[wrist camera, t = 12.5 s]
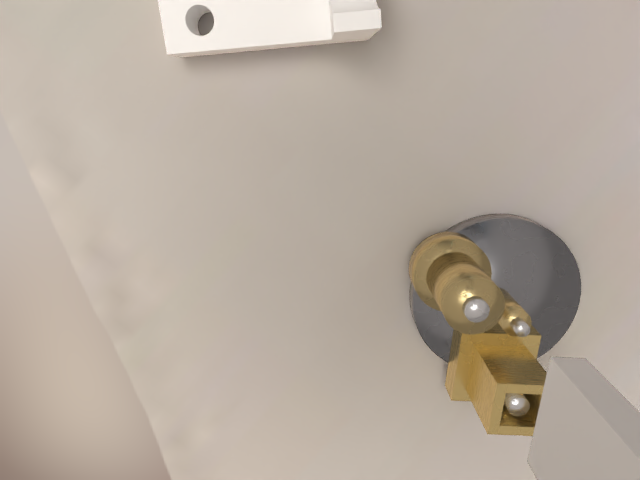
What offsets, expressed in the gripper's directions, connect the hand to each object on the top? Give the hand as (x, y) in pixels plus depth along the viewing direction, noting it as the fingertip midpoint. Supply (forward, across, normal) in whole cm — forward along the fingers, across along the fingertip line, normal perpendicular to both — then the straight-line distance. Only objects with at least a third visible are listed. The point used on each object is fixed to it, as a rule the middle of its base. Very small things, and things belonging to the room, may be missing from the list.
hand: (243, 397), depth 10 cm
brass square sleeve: (+25, +16, -13) cm, 33 cm away
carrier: (+27, +16, -8) cm, 32 cm away
